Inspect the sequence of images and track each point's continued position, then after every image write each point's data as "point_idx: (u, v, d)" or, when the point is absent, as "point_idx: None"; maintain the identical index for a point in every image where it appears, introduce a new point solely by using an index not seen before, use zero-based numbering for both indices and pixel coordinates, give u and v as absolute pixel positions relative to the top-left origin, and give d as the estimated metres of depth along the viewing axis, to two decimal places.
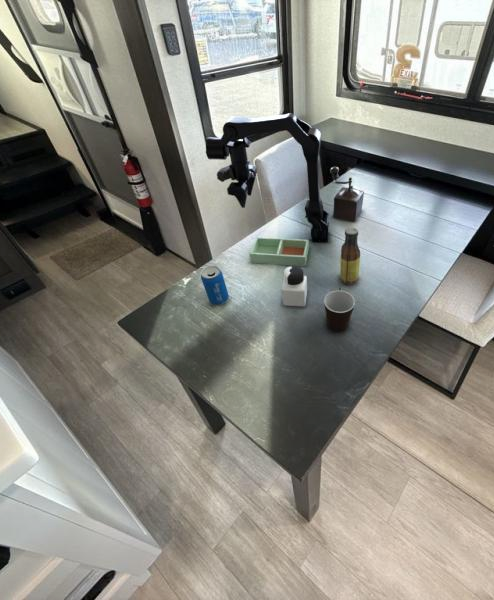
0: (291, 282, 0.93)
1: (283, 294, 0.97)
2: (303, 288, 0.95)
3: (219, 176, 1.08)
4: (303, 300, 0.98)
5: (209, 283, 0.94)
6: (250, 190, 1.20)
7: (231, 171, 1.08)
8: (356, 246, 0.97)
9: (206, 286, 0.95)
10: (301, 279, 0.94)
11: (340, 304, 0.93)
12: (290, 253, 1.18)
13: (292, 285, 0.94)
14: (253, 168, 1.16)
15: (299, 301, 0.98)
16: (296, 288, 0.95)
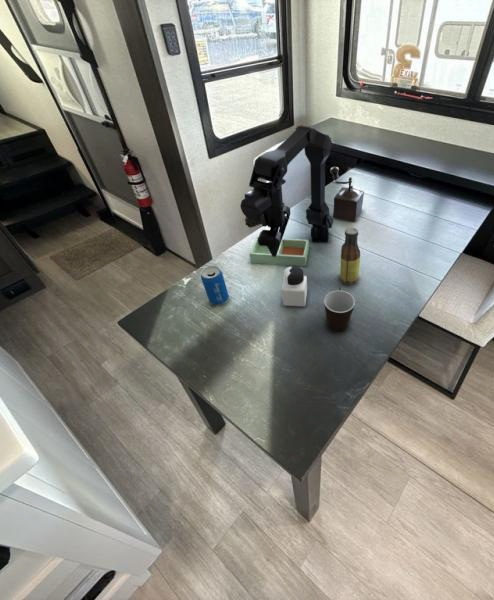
0: (291, 282, 0.93)
1: (283, 294, 0.97)
2: (303, 288, 0.95)
3: (248, 222, 0.90)
4: (303, 300, 0.98)
5: (209, 283, 0.94)
6: (282, 234, 1.02)
7: (263, 216, 0.90)
8: (356, 246, 0.97)
9: (206, 286, 0.95)
10: (301, 279, 0.94)
11: (340, 304, 0.93)
12: (290, 253, 1.18)
13: (292, 285, 0.94)
14: (287, 210, 0.98)
15: (299, 301, 0.98)
16: (296, 288, 0.95)
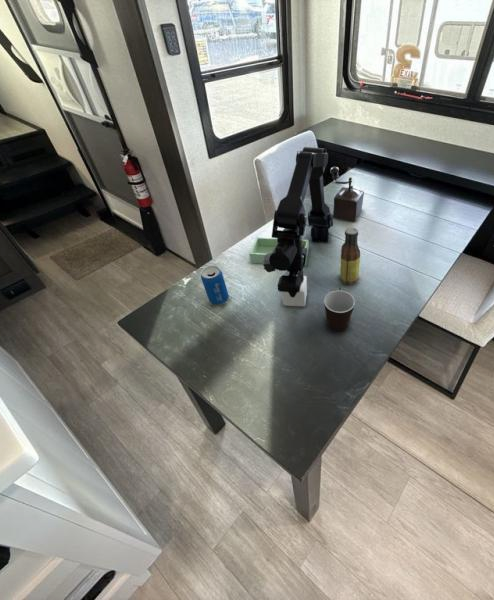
0: None
1: (283, 294, 0.97)
2: (303, 288, 0.95)
3: (267, 267, 0.89)
4: (303, 300, 0.98)
5: (209, 283, 0.94)
6: None
7: None
8: (356, 246, 0.97)
9: (206, 286, 0.95)
10: (301, 280, 0.94)
11: (340, 304, 0.93)
12: None
13: None
14: (304, 251, 0.97)
15: (299, 301, 0.98)
16: None
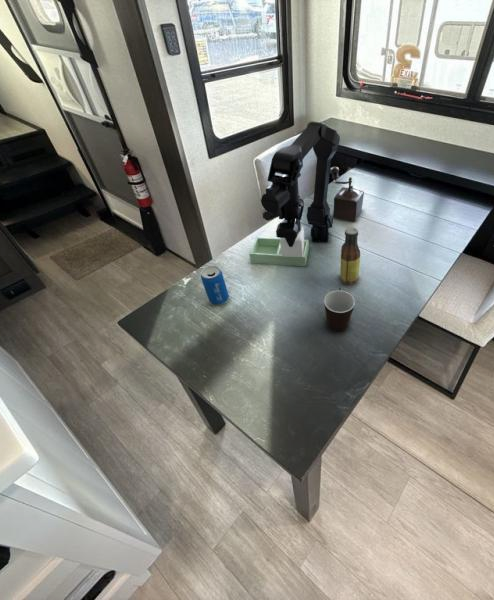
0: None
1: (281, 244, 1.02)
2: (300, 238, 1.00)
3: (266, 215, 0.94)
4: (301, 250, 1.03)
5: (209, 283, 0.94)
6: None
7: (280, 209, 0.93)
8: (356, 246, 0.97)
9: (206, 286, 0.95)
10: (298, 229, 0.99)
11: (340, 304, 0.93)
12: None
13: None
14: (301, 202, 1.01)
15: (297, 251, 1.03)
16: None
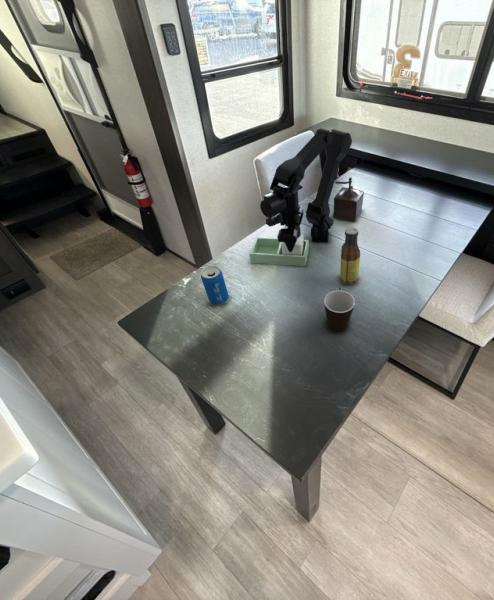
0: None
1: (283, 248, 1.12)
2: (300, 242, 1.11)
3: (268, 222, 1.04)
4: (300, 254, 1.13)
5: (209, 283, 0.94)
6: None
7: (281, 217, 1.04)
8: (356, 246, 0.97)
9: (206, 286, 0.95)
10: (298, 234, 1.09)
11: (340, 304, 0.93)
12: None
13: None
14: (300, 210, 1.11)
15: (297, 254, 1.13)
16: None
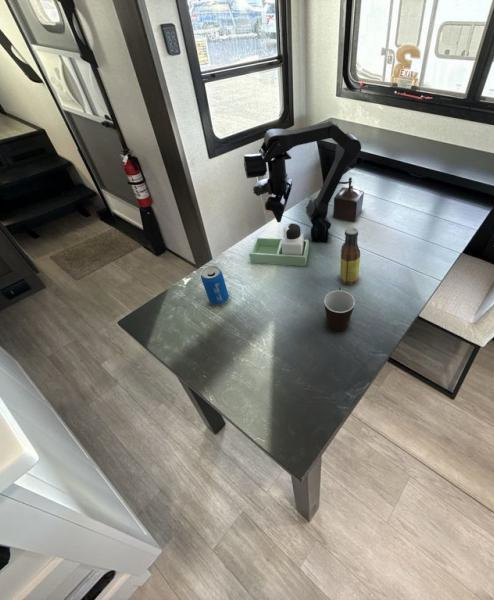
0: (289, 236, 1.08)
1: (283, 248, 1.12)
2: (300, 242, 1.11)
3: (256, 190, 1.04)
4: (300, 254, 1.13)
5: (209, 283, 0.94)
6: (285, 204, 1.16)
7: (269, 185, 1.04)
8: (356, 246, 0.97)
9: (206, 286, 0.95)
10: (298, 234, 1.09)
11: (340, 304, 0.93)
12: None
13: (291, 240, 1.10)
14: (289, 181, 1.11)
15: (297, 254, 1.13)
16: (294, 242, 1.10)
